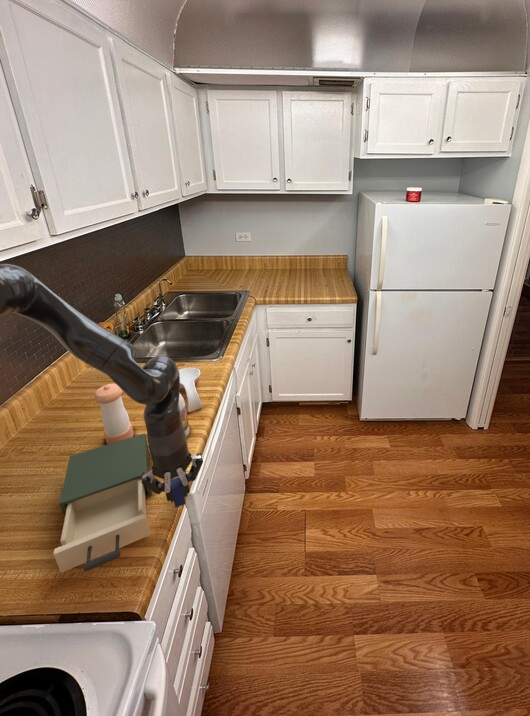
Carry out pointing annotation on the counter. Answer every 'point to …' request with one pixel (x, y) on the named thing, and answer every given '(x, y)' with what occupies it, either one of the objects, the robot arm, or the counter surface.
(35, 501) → the counter surface
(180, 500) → the blue block with post
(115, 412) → the salt shaker
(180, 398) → the milk bottle
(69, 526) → the drawer
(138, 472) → the cabinet
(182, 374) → the white curved piece
